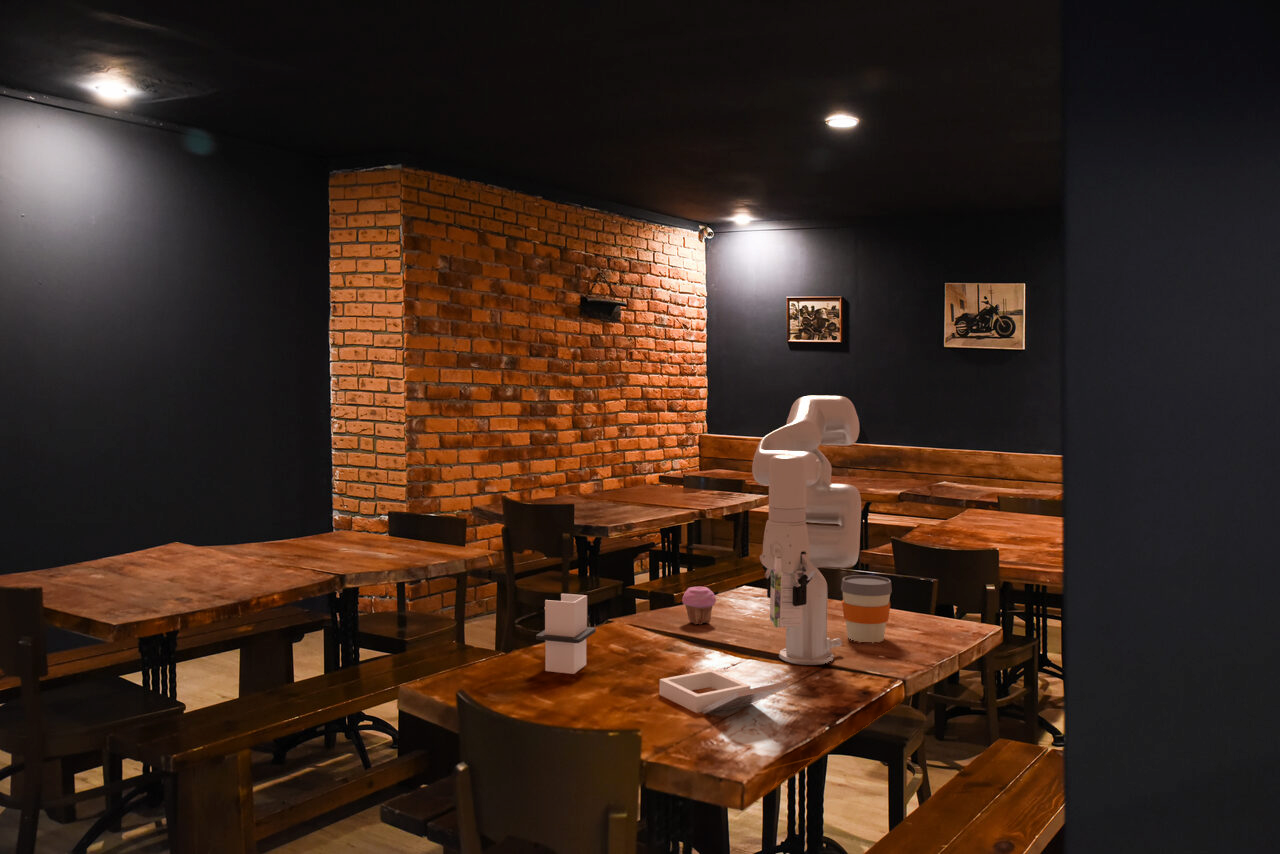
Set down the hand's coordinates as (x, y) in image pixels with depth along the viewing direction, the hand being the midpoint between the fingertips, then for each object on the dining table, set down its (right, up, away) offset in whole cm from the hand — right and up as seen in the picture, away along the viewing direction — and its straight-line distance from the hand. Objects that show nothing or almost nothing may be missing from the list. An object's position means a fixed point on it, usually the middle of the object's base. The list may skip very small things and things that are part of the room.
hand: (786, 600), depth 210 cm
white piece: (-17, -21, +1) cm, 27 cm away
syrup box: (0, -5, 0) cm, 5 cm away
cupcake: (-14, -17, +65) cm, 69 cm away
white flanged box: (-47, -20, +23) cm, 56 cm away
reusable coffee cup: (+27, -18, +50) cm, 59 cm away
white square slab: (-10, -18, -11) cm, 23 cm away
